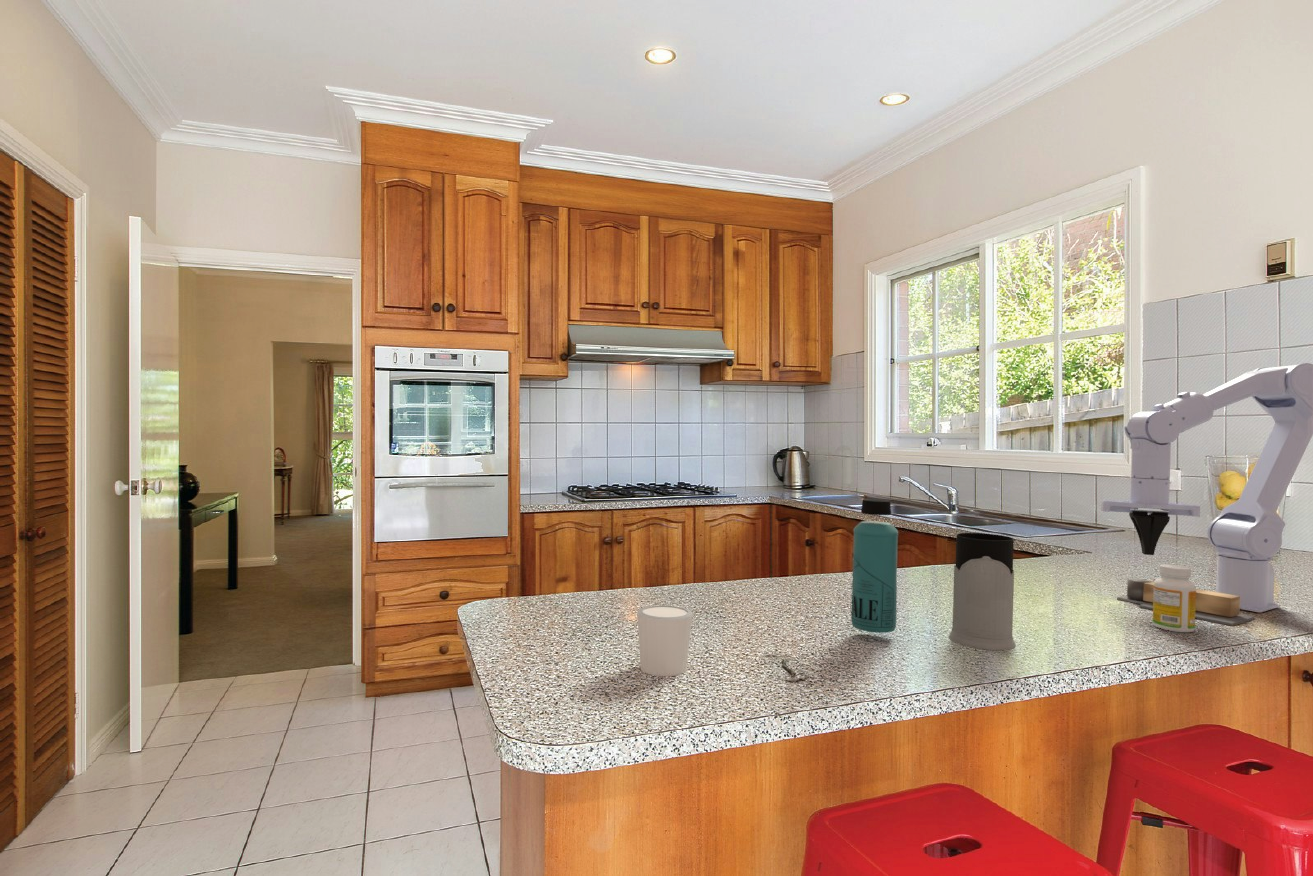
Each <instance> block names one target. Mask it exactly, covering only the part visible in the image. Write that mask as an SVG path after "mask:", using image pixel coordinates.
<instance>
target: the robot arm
mask: <svg viewBox="0 0 1313 876" xmlns="http://www.w3.org/2000/svg"><path fill="white" fill-rule="evenodd" d="M1176 397H1177V398H1175V399H1173V400H1171V401H1168V402H1166V403H1164V404H1163V403H1158V404H1155V405H1153V409H1151V411H1140V412H1137V413H1135V414H1133V415H1132V416H1131V417H1130V419H1129V420H1128V421H1127V425H1126V426H1124V427H1123V428H1124V434H1125V436H1126V437H1127V439H1128V440H1129V443H1130V449H1131V464H1130V465H1131V471H1130V473H1131V474H1130V475H1131V476H1130V477H1131V478H1130V500H1108V499H1103V500H1102V499H1101V505H1100V506H1101V507H1100V508H1101V509H1100V510H1101V512H1104V513H1105V512H1107V513H1108V512H1112V513H1113V512H1116V513H1128V515H1129V518H1130V520H1131V522H1132V523H1133V526H1134V528H1135V530H1136V533H1137V536H1138V538H1139V539H1138V540H1139V543H1140V547H1141V554H1143V555H1145V556H1146V555H1147V556H1154V555H1155V551H1156V547H1157V544H1158V542H1159V539H1160V537H1161V534H1162V533H1163V531H1164V530H1165V528H1166V526H1167V525H1168V524H1169V523H1170V518H1171V517H1170V516H1183V517H1184V516H1188V517H1195V518H1196V517H1197V518H1198V517H1199V518H1200V516H1201V505H1199V504H1186V503H1172V502H1170V488H1171V487H1170V486H1171V482H1170V481H1171V480H1170V479H1171V455H1172V454H1171V450H1172V448H1171V447H1172V443H1173V442H1175V441H1176V440H1177V439H1178V437H1179V436H1180V434H1181V433H1182V434H1183V433H1184V432H1186V431H1188V430H1191V429H1193V428H1196V427H1197V426H1200V425H1202V424H1204V423H1207V422H1209V421H1210V420H1211V419H1212V418H1213V416H1214V412H1215V411H1217V410H1219V409H1223V408H1225V407H1227V406H1229V405H1232V404H1235V403H1238V402H1241V401H1243V400H1245V399H1248V398H1250V397H1251V398H1252V399H1253V400H1254V401H1255V402H1256V403H1257V404H1258V405H1259V406H1260V407H1261V408H1262V410H1264V412H1266V414H1268V416H1269V417H1270V416H1271V417H1272V419H1273V421H1274V424H1273V427H1272V428H1271V431H1270V433H1269V435H1268V437H1267V439H1266V440H1265V444H1264V445H1263V448H1261V451H1260V454H1259V455H1258V457H1257V458H1258V459H1257V460H1256V463H1255V464H1254V467H1253V469H1252V471H1251V473H1250V475H1249V477H1248V479H1247V481H1246V483H1245V486H1244V487H1243V489H1242V491H1241V493H1240V496H1239V498H1238V500H1236V501H1234V502H1232V503H1230V504H1228V505H1226V506H1225V507H1223V508H1222V509H1221V512H1220V514H1219V515H1218V516H1217V517H1216V518H1215V519H1213V520H1212V521H1211V522H1210V524H1209V526H1207V532H1206V534H1207V539H1208V542H1209V543H1210V544H1211V546H1212V547H1214V553H1215V554H1217V555H1216V556H1217V557H1216V559H1217V563H1216V588H1215V589H1216V591H1215V592H1218V593H1224V594H1230V595H1236V596H1240V610H1244V611H1248V612H1249V611H1250V612H1255V613H1263V612H1266V611H1270V610H1274V609H1277V608H1281V604H1280V603H1276V602H1274V601H1275V599H1274V598H1275V596H1274V595H1275V574H1276V573H1275V569H1274V567H1273V565H1272V564H1271V563H1270V561H1273V558H1274V556H1275V555H1276V554H1277V553H1278V552H1279V551H1280V549H1281V547H1282V543H1283V532H1284V531H1283V530H1284V528H1285V526H1286V522H1285V521H1284V520H1283V518H1282V517H1281V516H1280V514H1278V512H1277V510H1278V509H1279V506H1280V505H1281V502H1282V500H1283V498H1284V495H1285V494H1286V491H1287V489H1288V487H1289V485H1290V483H1291V481H1292V479H1293V477H1294V475H1295V473H1296V470H1297V468H1298V467H1299V464H1300V462H1301V461H1302V459H1303V456H1304V455H1305V453H1306V449H1308V448H1307V447H1308V446H1309V444H1310V442H1311V439H1312V437H1313V363H1310V362H1309V363H1308V362H1302V363H1298V364H1291V365H1290V364H1289V365H1282V366H1271V367H1265V366H1263V367H1258V368H1256V369H1254V370H1250V371H1245V372H1244V373H1243V374H1241V375H1240V376H1238V377H1236V378H1234V379H1231V380H1229V381H1228V382H1225V383H1224V384H1222V385H1221V384H1220V385H1219V386H1217V387H1216V388H1214V389H1212V390H1210V391H1207V392H1205V393H1199V392H1195V391H1194V392H1190V391H1183V392H1180V393H1178V394H1177V395H1176ZM1144 509H1149V510H1144ZM1150 509H1151V510H1150ZM1169 515H1170V516H1169Z"/></svg>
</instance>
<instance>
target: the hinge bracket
mask: <svg viewBox="0 0 1313 876" xmlns="http://www.w3.org/2000/svg"><path fill="white" fill-rule="evenodd" d="M1116 600H1118V601H1124V602H1127V603H1132V604H1133V603H1134V604H1138V605H1141V604H1146V603H1150V602H1149V601H1144V600H1139V599H1133V598H1129V597H1127V594H1126V595H1122V596H1117V597H1116Z"/></svg>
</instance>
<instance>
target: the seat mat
mask: <svg viewBox="0 0 1313 876" xmlns="http://www.w3.org/2000/svg"><path fill="white" fill-rule="evenodd" d="M1138 605H1139V606H1138V607H1139V608H1140V609H1147V610H1150V609H1151V611H1153V602H1150V603H1146V604H1138ZM1195 618H1197V619H1196V620H1200V619H1201V621H1206V622H1210V623H1216V624H1221V625H1226V626H1231V627H1234V626H1236V625H1239V624H1243V623H1246V622H1249V621H1252V620H1255V619H1256V618H1255V616H1252V615H1248V614H1241V613H1239V615H1237V616H1233V617H1227V616H1222V615H1216V614H1211V613H1206V612H1201V611H1196V610H1195Z"/></svg>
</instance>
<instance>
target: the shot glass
mask: <svg viewBox="0 0 1313 876" xmlns="http://www.w3.org/2000/svg"><path fill="white" fill-rule="evenodd" d="M693 615H694V612H693V611H691V610H690V609H688V608H685V607H680V606H676V605H651V606H644V607H642V608H638V610H637V612H636V616H637V617H636V618H637V631H638V645H639V649H638V650H639V661H640V670H641V671H642V672H643V673H646V674H648V675H652V676H657V677H658V676H659V677H672V676H679V675H682V674H684V673H686V671H687V667H688V660H689V659H688V658H689V650H690V644H691V643H690V641H691V631H692V623H693Z"/></svg>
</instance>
